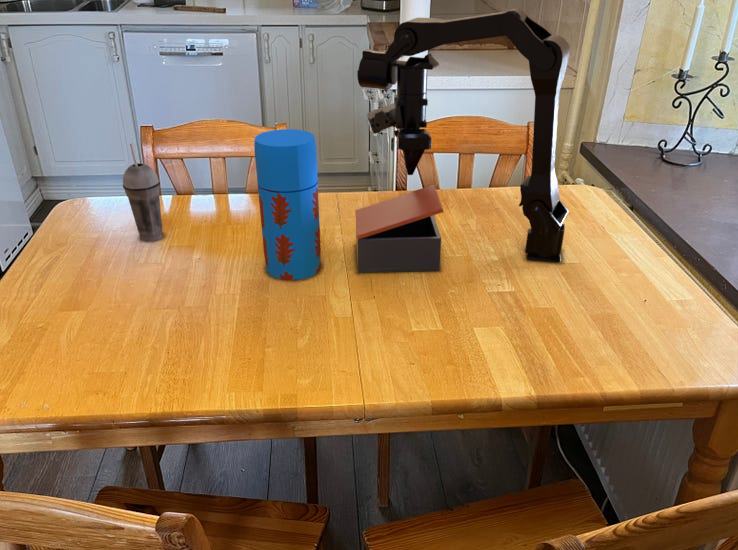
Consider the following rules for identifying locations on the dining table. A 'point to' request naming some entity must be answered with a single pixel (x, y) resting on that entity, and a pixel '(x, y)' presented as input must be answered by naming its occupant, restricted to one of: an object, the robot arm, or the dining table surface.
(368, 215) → the lid
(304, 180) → the thermos
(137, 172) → the beverage cup
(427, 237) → the box
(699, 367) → the dining table surface
